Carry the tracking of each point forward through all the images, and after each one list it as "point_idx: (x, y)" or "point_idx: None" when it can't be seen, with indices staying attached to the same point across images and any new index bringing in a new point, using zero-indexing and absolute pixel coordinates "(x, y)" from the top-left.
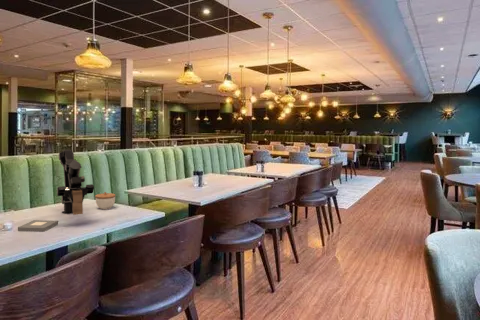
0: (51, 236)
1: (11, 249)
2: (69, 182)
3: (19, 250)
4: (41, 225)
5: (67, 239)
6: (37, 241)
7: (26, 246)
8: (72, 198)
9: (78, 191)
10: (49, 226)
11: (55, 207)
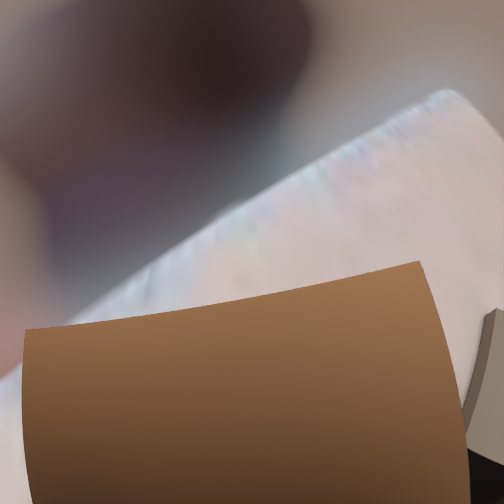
0: (421, 218)
1: (481, 129)
2: None
3: (454, 114)
4: None
5: (331, 160)
6: (449, 170)
7: (456, 136)
8: None
9: (147, 318)
10: (480, 373)
11: None
